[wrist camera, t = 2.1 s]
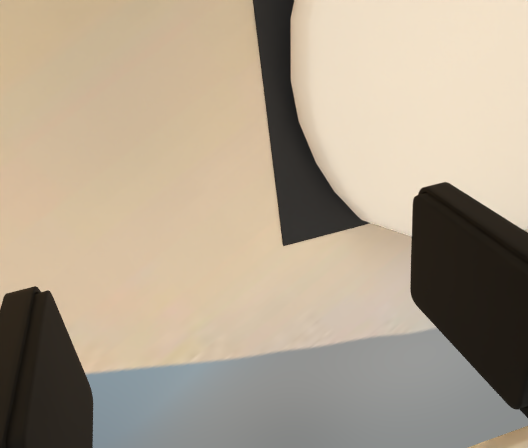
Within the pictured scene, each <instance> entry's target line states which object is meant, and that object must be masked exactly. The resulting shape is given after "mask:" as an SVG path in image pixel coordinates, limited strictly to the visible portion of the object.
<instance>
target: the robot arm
mask: <svg viewBox="0 0 528 448" xmlns="http://www.w3.org/2000/svg"><path fill="white" fill-rule="evenodd" d="M411 296H412V298H413V301H414V302H415V304H416V305H417V306H418V308H419V309H420V310H421V311H422V312H423V313H424V314H425V315H426V316H427V317H428V318H429V319H430V321H431V322H432V323H433V324H434V325H435V326H436V327H437V328H438V329H439V330H440V331H441V332H442V334H443V335H444V336H445V337H446V338H447V339H448V340H449V341H450V342H451V343H452V344H453V345H454V347H455V348H456V349H457V350H458V351H459V352H460V353H461V354H462V355H463V356H464V357H465V358H466V359H467V361H468V362H469V363H470V364H471V365H472V366H473V367H474V368H475V369H476V370H477V371H478V373H479V374H480V375H481V376H482V377H483V378H484V379H485V380H486V381H487V382H488V383H489V384H490V386H491V387H492V388H493V389H494V390H495V391H496V392H497V393H498V394H499V395H500V396H501V397H502V398H503V400H504V401H505V402H506V403H507V404H508V405H509V406H510V407H512V408H513V409H520V410H521V411H522V412H523V413H524V414H525V415H526V417H527V418H528V233H527V232H526V231H524V230H523V229H521V228H519V227H518V226H516V225H515V224H513V223H512V222H510V221H508V220H507V219H505V218H504V217H502V216H500V215H499V214H497V213H496V212H494V211H493V210H491V209H489V208H488V207H486V206H485V205H483V204H481V203H480V202H478V201H477V200H475V199H474V198H472V197H470V196H469V195H467V194H466V193H464V192H462V191H461V190H459V189H458V188H456V187H455V186H453V185H451V184H450V183H447V182H442V183H438V184H435V185H431V186H427V187H423V188H421V189H420V191H419V193H418V195H417V196H415V197H414V199H413V211H412V250H411ZM92 433H93V397H92V392H91V388H90V385H89V382H88V380H87V377H86V375H85V373H84V370H83V368H82V365H81V363H80V361H79V358H78V356H77V353H76V351H75V349H74V346H73V344H72V341H71V339H70V337H69V334H68V332H67V329H66V327H65V325H64V322H63V320H62V317H61V315H60V313H59V310H58V308H57V306H56V303H55V301H54V298H53V296H52V294H51V293H50V291H44V292H41V291H40V290H39V289H38V287H36V286H35V287H31V288H27V289H23V290H19V291H15V292H11V293H7V294H5V296H4V298H3V302H2V305H1V309H0V448H92V441H93V439H92V438H93V437H92V436H93V434H92ZM468 448H528V426H526V427H523V428H521V429H518V430H515V431H512V432H509V433H507V434H504V435H501V436H498V437H496V438H493V439H490V440H487V441H485V442H482V443H479V444H477V445H474V446H471V447H468Z"/></svg>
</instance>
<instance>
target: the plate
mask: <svg viewBox="0 0 528 448" xmlns="http://www.w3.org/2000/svg"><path fill="white" fill-rule="evenodd" d="M291 84H292V89H293V95H294V100H295V105H296V110H297V115H298V121H299V123H300V126H301V128H302V130H303V133H304V135H305V138H306V140H307V142H308V145H309V147H310V150H311V152H312V154H313V157H314V159H315V162H316V164H317V165H318V167H319V168H320V170H321V171H322V173H323V175H324V176H325V178H326V179H327V181H328V182H329V184H330V186H331V187H332V189H333V190H334V192H335V193H336V194H337V195H338V196H339V197H340V198H341V199H342V200H343V201H344V202H345V203H346V204H347V205H348V207H349V208H350V209H351V210H352V211H353V212H354V213H355V214H356V215H357V216H358V217H359V218H360V219H361V220H363V221H366V222H369V223H372V224H375V225H378V226H381V227H384V228H387V229H390V230H393V231H396V232H399V233H402V234H405V235H408V236H411V237H412V211H413V199H414V197H415V196H417V195H418V193H419V191H420V189H421V188H423V187H427V186H431V185H435V184H438V183H442V182H447V183H450V184H451V185H453V186H455V187H456V188H458V189H459V190H461V191H462V192H464V193H466V194H467V195H469V196H470V197H472V198H474V199H475V200H477V201H478V202H480V203H481V204H483V205H485V206H486V207H488V208H489V209H491V210H493V211H494V212H496V213H497V214H499V215H500V216H502V217H504V218H505V219H507V220H508V221H510V222H512V223H513V224H515V225H516V226H518V227H519V228H521V229H523V230H527V229H528V0H294V4H293V9H292V14H291Z"/></svg>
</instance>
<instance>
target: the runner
mask: <svg viewBox="0 0 528 448" xmlns="http://www.w3.org/2000/svg"><path fill="white" fill-rule="evenodd" d="M253 3H254V11H255V19H256V27H257V35H258V44H259V52H260V60H261V68H262V76H263V84H264V92H265V101H266V109H267V117H268V125H269V133H270V141H271V150H272V158H273V166H274V174H275V182H276V190H277V198H278V207H279V215H280V223H281V231H282V239H283V246H285V245H289V244H293V243H297V242H300V241H304V240H308V239H312V238H316V237H319V236H323V235H327V234H331V233H335V232H338V231H342V230H346V229H350V228H354V227H357V226H361V225H365V224H369V222H366V221H363V220H361V219H360V218H359V217H358V216H357V215H356V214H355V213H354V212H353V211H352V210H351V209H350V208H349V207H348V205H347V204H346V203H345V202H344V201H343V200H342V199H341V198H340V197H339V196H338V195H337V194H336V193H335V192H334V190H333V189H332V187H331V186H330V184H329V182H328V181H327V179H326V178H325V176H324V175H323V173H322V171H321V170H320V168H319V167H318V165H317V164H316V162H315V159H314V157H313V154H312V152H311V150H310V147H309V145H308V142H307V140H306V138H305V135H304V133H303V130H302V128H301V126H300V123H299V121H298V115H297V110H296V105H295V100H294V95H293V89H292V84H291V14H292V9H293V4H294V0H253Z"/></svg>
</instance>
